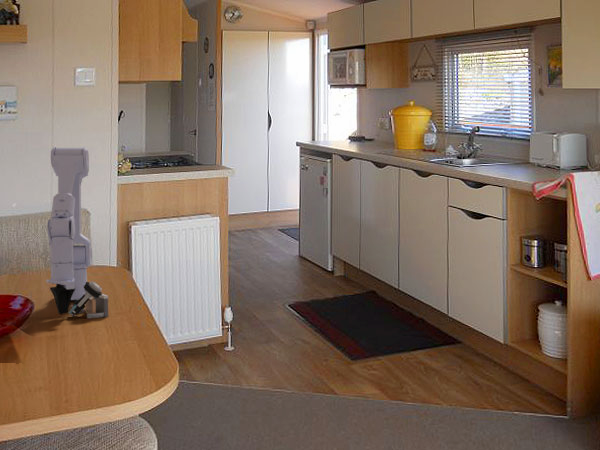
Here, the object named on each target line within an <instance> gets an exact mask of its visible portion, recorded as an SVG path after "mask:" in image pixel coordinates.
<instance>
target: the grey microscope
mask: <svg viewBox="0 0 600 450" xmlns="http://www.w3.org/2000/svg"><path fill="white" fill-rule="evenodd" d="M84 291H85V292H86V293H85V294H84V295H83V296H82V297H81V298H80V299H77V300H74V302H73V304H71V305H70V307H72V308H71V309H69V310H68V314H69V315H70V316H71V317H75V318H77V317H78V316H79V315H80V314H81V313H80V311H81V310H83V309H86V303H87V301H88V300H89V299H90V297H92V299H93V298H98V297H99V296H101V295H102V294H103V293H102V291H103V289H102V287H101V286H100V285H99V284H97V283H96V282H95V281H93V280H91V281H90V282H89V281H87V282H86V284H85V285H84Z"/></svg>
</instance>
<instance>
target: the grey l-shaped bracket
mask: <svg viewBox="0 0 600 450" xmlns="http://www.w3.org/2000/svg"><path fill="white" fill-rule="evenodd" d="M92 299H95V300H96V313H90V314H87V313H86V308H84V309H83V310H81V311H80V313H79V314H83V313H84V314H86V319H87V320H89V319H97V318H109V295H106V294H104V293H102V295H101V296H99V297H98V298H93V297H92Z"/></svg>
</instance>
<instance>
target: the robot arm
mask: <svg viewBox="0 0 600 450" xmlns="http://www.w3.org/2000/svg"><path fill="white" fill-rule="evenodd" d="M89 156H90V155H89V149H88V148H87V147H85V146H84V147H55V146H54V147H52V148H51V151H50V165H51V167H52V170H53V172H54V173H55V176H56V177H57V182H58V183H57V187H58V190H57V192H58V193H55V195H54V196H53V197H52V198H53V199H52V207H51V215H50V219H48V221H47V224H46V227H47V228H46V229H47V230H46V231H47V237H48V245H49V246H50V252H49V253H50V279H46V280H45V281H46V283H47V284H51V285H54V284H55V286H52V287H49V291H51V293H52V296H53V298H54V301H55V305H56V310H57V313H58V314H59V315H61V314H62V315H64V314H69V310H70V306H71V305H70V304H71V301H76V300H79V299H80V298H81V297H82V296H83V295H84V294H85V293H86V292H85V291H84V285H85V284H86V282H88V272H87V271H88V269H87V268H88V267H90V266H91V265H92V263H93V252H92V243H91V240H90V239H89V238H88V237H87V236H85V235H83V234H82V188H81V187H82V182H83V179H84V178H85V177H88V176H89V171H90V170H89V169H90V168H89V167H90V164H89V163H90V159H89ZM75 244H76V245H75ZM90 298H92V299H93V297H90Z"/></svg>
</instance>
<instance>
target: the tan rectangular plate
mask: <svg viewBox="0 0 600 450" xmlns="http://www.w3.org/2000/svg"><path fill="white" fill-rule="evenodd" d="M85 309H86V312H85V314H86V315H87V314H90V313H97V312H96V300H95V299H93V297H92V298H90V299H89V300H88V301H87V303H86V304H85Z"/></svg>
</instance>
